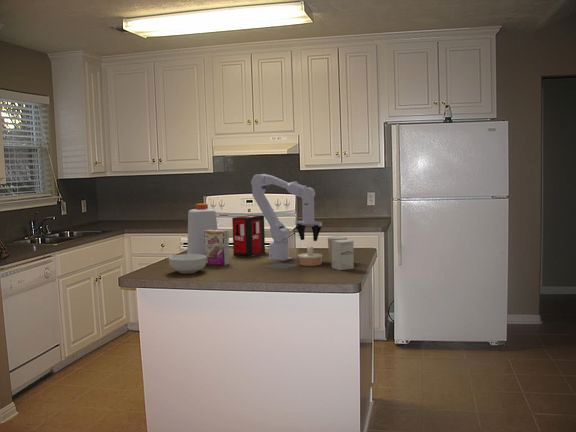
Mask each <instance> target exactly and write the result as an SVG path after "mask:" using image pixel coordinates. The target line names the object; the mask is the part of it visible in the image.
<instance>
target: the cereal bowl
mask: <svg viewBox="0 0 576 432" xmlns="http://www.w3.org/2000/svg"><path fill="white" fill-rule="evenodd" d="M206 260H207V257H206V256H205V255H199V254H187V253H185V254H176V255H175V254H174V255H171V256H169V257H168V264H169V266H170V268H171V269H172V270H174V271H176V272H178V273H179V274H184V275H186V274H195V273H197V272H198V271H201V270H202V269H204V268H205V267H206V265H207V264H206Z"/></svg>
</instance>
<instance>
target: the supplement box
mask: <svg viewBox="0 0 576 432" xmlns="http://www.w3.org/2000/svg"><path fill="white" fill-rule="evenodd" d="M354 247H355V246H354V240H350V239H347V240H334V241H332V263H331V268H332V269H334V270H338V271H343V270H344V271H345V270H354V267H355V264H354V263H355V262H354V258H355V257H354V256H355V255H354Z"/></svg>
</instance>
